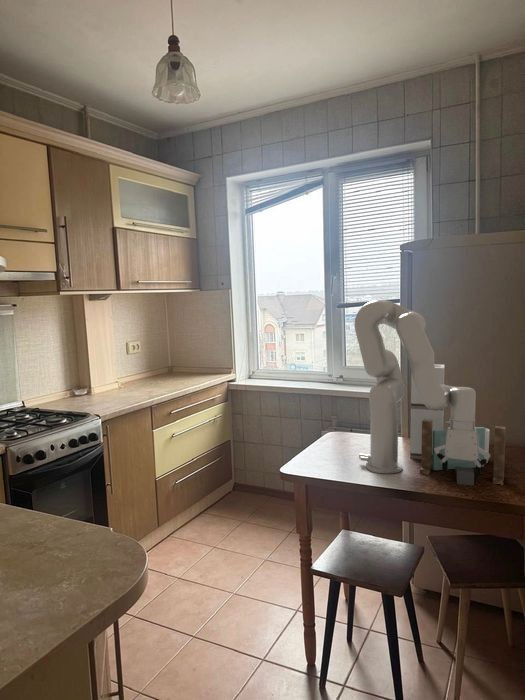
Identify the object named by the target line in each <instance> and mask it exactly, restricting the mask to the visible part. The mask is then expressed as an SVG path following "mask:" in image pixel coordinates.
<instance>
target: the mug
mask: <svg viewBox="0 0 525 700" xmlns="http://www.w3.org/2000/svg"><path fill="white" fill-rule="evenodd" d="M476 427H477V426H475V428H476ZM484 428H485V451H486V452H488V453H489V448H490V447H489V446H490V429H489V428H486V427H484ZM484 457H485V456H484ZM488 462H489V460H488V461H487V462H486V463H485V464H487V463H488Z"/></svg>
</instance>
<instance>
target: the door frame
mask: <svg viewBox="0 0 525 700" xmlns="http://www.w3.org/2000/svg"><path fill="white" fill-rule="evenodd" d="M432 421H433V420H427V419H423V420H422V453H421V459H420V460H421V461H420V462H421V463H420V465H421V466H420V468H419V474H420V475H421V474H422V475H426V476H427V475H430V474H431V472H432V470H433V469H432ZM493 443H494V444H493V446H494V447H493V448H494V449H493V451H494V452H493V477H492V485H496V484H501V485H500V486H504V482H503V481H504V480H505V452H506V451H505V449H506V426H501V425H500V426H499V425H495V427H494V441H493Z"/></svg>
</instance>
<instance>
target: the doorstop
mask: <svg viewBox="0 0 525 700" xmlns="http://www.w3.org/2000/svg"><path fill="white" fill-rule="evenodd" d="M454 470H455V477H456V478H455V479H456V484H457V485H466V486H475V471H474V470H475V469H474V467H470V468H464V467H455V469H454Z"/></svg>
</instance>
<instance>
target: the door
mask: <svg viewBox="0 0 525 700" xmlns="http://www.w3.org/2000/svg"><path fill="white" fill-rule="evenodd" d="M475 427H476V428H475V429H476V430H477V434H478V444H479V447H480V448H481V449H483V450H485V428H486V427H484V426H480V427H477V426H475ZM447 429H448V428H447ZM447 429H444V428H443V430H433V455H432V470H433V471H440V470H441V471H442V461H441V460H440V459H439V458H438V457H437V454H436V452H435V450H434V448H435V447H437V446H440V445H442V444H445V441H446V433H447ZM440 453H441V454H442V455H443V456H445V448H444V449H441V450H440ZM478 458H479V460H480V461H481V460H482V459H484V455H483V454H481V453H479V454H478ZM447 461H448V470H455V467H464V468H476V464H475V462H474V461H473V462H472V461H463V460H455V459H448V460H447ZM482 467H485V464H484V465H482V466H481V468H482Z"/></svg>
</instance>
